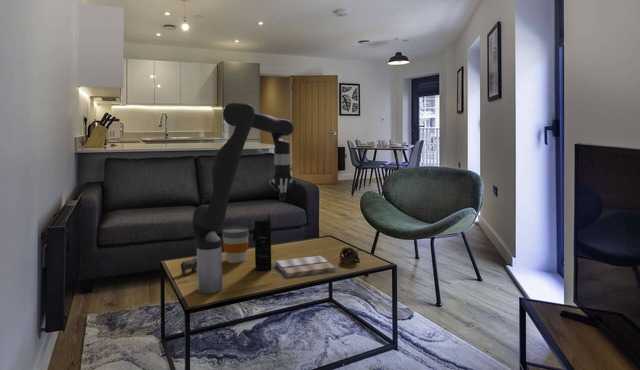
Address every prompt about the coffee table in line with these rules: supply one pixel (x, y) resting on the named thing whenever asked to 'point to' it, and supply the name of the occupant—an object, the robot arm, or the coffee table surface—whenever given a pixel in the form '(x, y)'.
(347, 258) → the pottery mug
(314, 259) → the plank
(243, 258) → the reusable coffee cup
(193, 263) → the rhino figurine
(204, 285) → the robot arm
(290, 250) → the coffee table surface
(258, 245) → the portable radio
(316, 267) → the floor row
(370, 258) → the coffee table surface
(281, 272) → the underlay mat
